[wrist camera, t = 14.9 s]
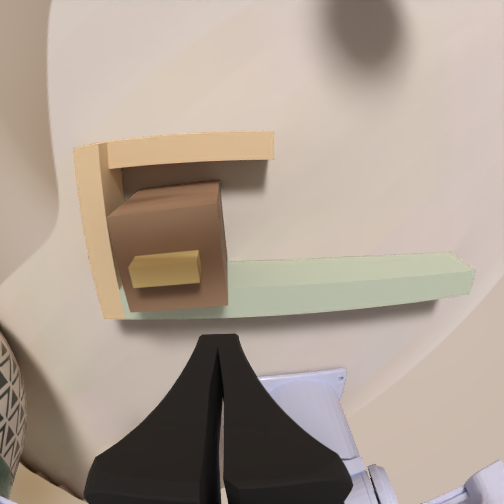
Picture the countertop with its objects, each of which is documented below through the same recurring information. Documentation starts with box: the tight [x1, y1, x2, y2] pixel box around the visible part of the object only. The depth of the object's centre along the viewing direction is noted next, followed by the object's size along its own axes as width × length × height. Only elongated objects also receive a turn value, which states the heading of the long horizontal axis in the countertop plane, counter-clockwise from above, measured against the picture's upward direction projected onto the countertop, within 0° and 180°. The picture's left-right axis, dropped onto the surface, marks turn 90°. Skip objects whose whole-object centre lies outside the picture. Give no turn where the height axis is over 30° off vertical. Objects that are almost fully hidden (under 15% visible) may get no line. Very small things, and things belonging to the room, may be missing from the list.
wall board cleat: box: [73, 131, 476, 320], centre depth 18 cm, size 10×26×4 cm, turn 90°
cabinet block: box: [107, 180, 228, 312], centre depth 16 cm, size 5×5×7 cm
